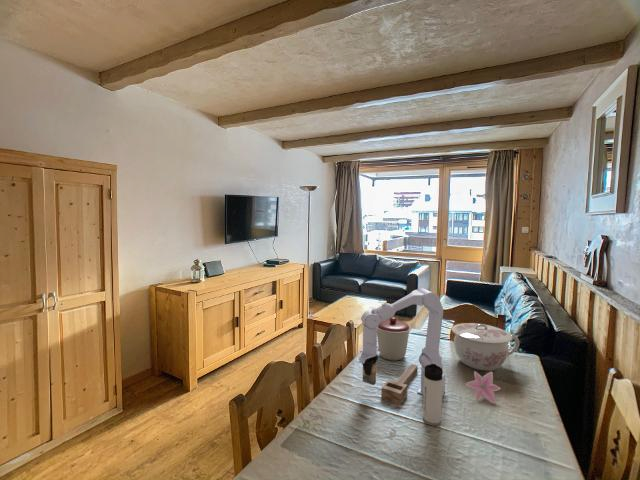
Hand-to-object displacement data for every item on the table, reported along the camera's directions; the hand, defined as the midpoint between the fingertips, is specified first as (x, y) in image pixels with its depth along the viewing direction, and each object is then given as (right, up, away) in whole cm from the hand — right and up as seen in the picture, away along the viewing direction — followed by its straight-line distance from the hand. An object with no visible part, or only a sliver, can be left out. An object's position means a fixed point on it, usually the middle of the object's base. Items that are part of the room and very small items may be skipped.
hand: (369, 373), depth 134 cm
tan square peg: (0, -4, 0) cm, 4 cm away
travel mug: (+21, -11, -14) cm, 28 cm away
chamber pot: (+60, -8, +30) cm, 68 cm away
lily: (+47, -10, +1) cm, 48 cm away
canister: (+18, -7, +39) cm, 43 cm away
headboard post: (+17, -9, +10) cm, 21 cm away
